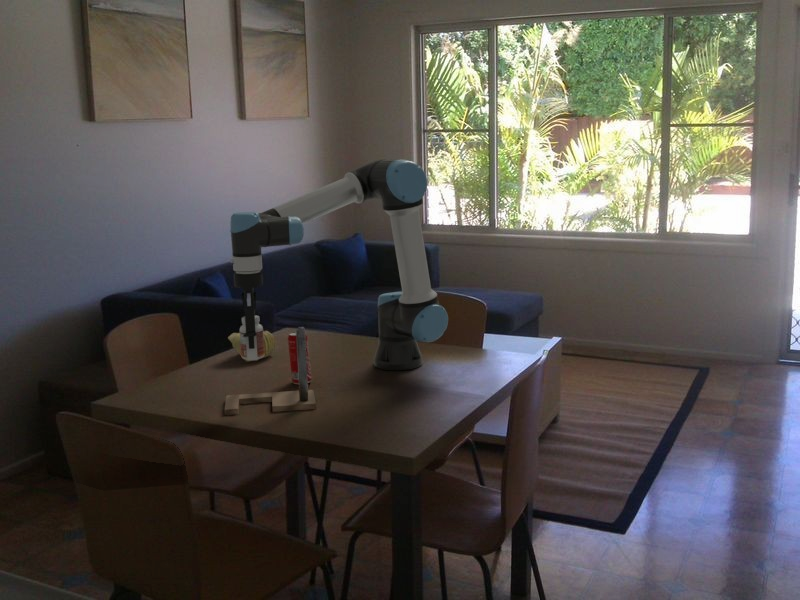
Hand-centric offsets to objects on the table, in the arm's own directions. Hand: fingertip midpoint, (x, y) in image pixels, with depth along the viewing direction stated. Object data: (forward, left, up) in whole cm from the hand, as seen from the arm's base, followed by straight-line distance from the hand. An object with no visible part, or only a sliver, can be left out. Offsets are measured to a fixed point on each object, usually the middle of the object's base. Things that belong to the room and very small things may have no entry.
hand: (252, 356), depth 240 cm
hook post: (-13, +4, -14) cm, 20 cm away
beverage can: (-13, -22, -14) cm, 29 cm away
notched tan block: (-4, -2, -14) cm, 15 cm away
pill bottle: (0, 0, -1) cm, 1 cm away
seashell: (+2, -55, -15) cm, 56 cm away
